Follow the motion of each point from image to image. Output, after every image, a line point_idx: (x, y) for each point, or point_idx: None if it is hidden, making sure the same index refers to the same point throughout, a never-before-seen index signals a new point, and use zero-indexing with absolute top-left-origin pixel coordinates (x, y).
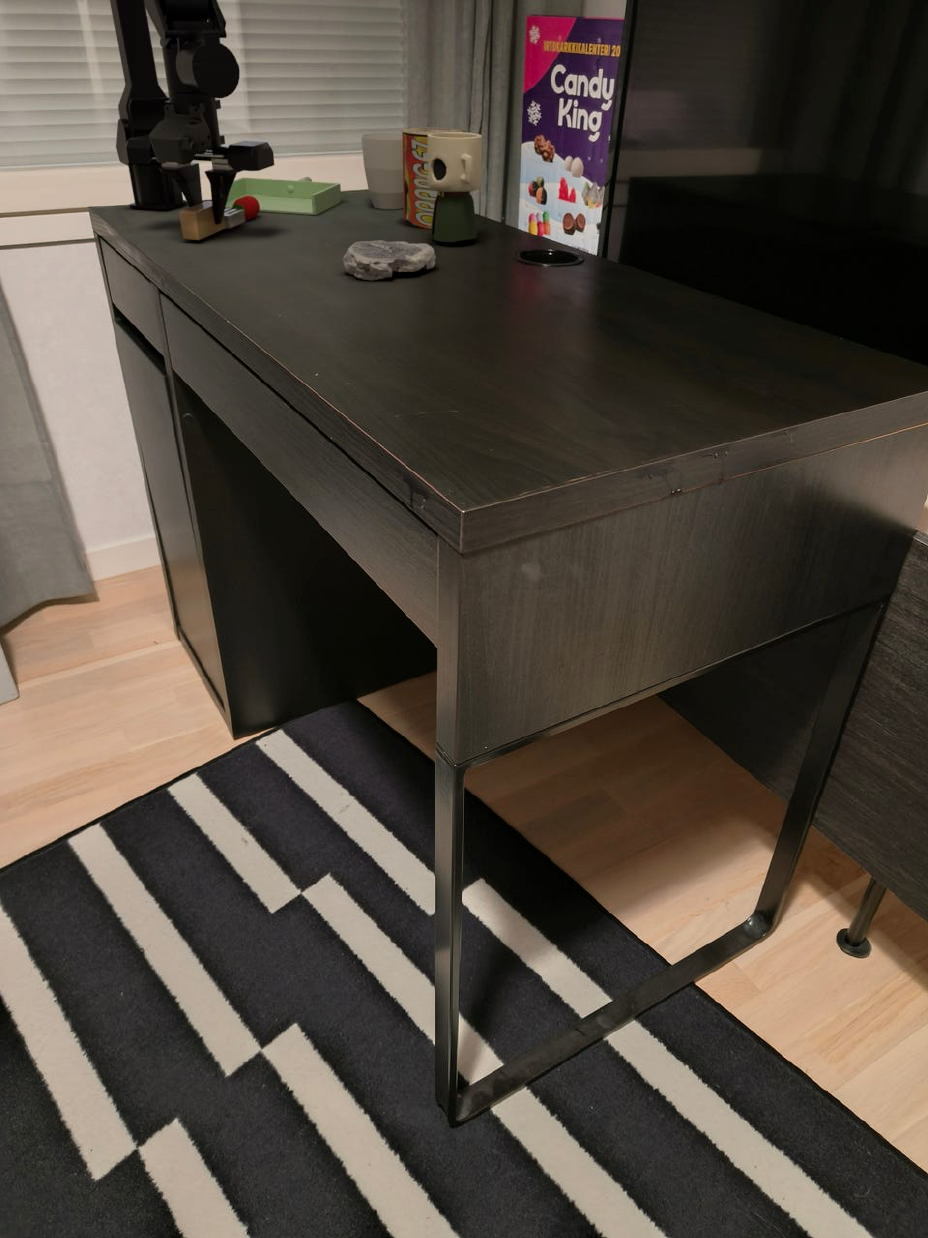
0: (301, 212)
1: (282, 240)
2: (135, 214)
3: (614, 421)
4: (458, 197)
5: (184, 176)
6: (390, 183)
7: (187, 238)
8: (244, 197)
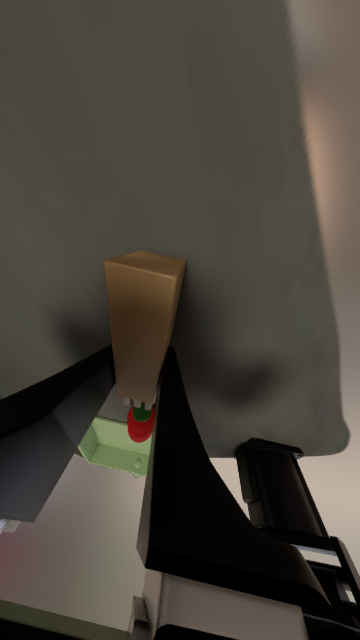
0: (101, 419)
1: (20, 300)
2: (295, 432)
3: None
4: None
5: (151, 477)
6: None
7: (173, 257)
8: (135, 435)
